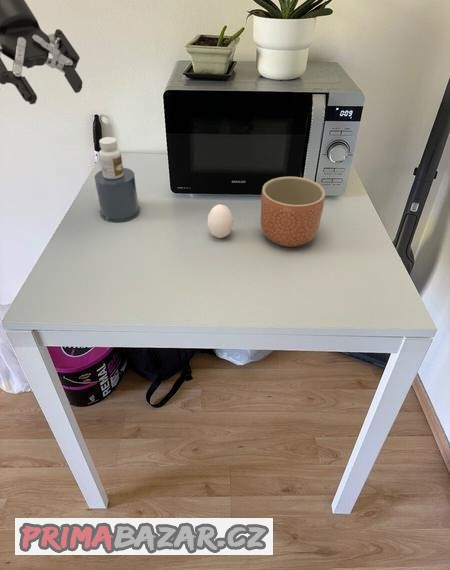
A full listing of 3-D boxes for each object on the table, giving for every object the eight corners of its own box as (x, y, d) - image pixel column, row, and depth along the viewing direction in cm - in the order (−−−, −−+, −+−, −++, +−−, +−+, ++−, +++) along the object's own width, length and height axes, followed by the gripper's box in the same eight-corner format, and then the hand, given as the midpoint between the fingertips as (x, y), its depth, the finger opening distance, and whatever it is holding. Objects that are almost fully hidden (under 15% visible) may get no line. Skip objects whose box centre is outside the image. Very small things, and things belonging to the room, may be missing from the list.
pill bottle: (121, 180, 93) (116, 144, 88) (101, 179, 93) (94, 144, 88) (125, 171, 96) (120, 136, 92) (105, 170, 97) (99, 135, 92)
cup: (104, 226, 96) (97, 188, 90) (96, 206, 102) (89, 170, 97) (145, 217, 99) (140, 180, 93) (134, 199, 105) (129, 163, 99)
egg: (236, 240, 92) (237, 209, 87) (212, 245, 91) (212, 214, 86) (227, 227, 96) (227, 197, 91) (204, 232, 94) (203, 201, 90)
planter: (321, 255, 88) (330, 206, 81) (259, 253, 88) (263, 205, 81) (313, 222, 98) (320, 176, 91) (257, 221, 98) (260, 175, 91)
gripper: (-41, -7, 65) (22, 91, 67) (45, -14, 73) (99, 73, 75) (-44, 30, 71) (14, 118, 73) (37, 19, 79) (87, 98, 81)
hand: (57, 95), depth 74 cm, fingers open, 8 cm apart
